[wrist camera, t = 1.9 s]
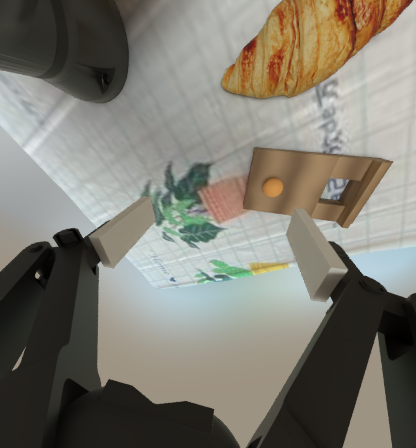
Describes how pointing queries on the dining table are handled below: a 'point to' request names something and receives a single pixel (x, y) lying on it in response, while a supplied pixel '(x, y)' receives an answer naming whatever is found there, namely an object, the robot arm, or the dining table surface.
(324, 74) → the croissant
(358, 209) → the wooden tray with slot
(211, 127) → the dining table surface
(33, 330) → the robot arm
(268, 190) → the ball
